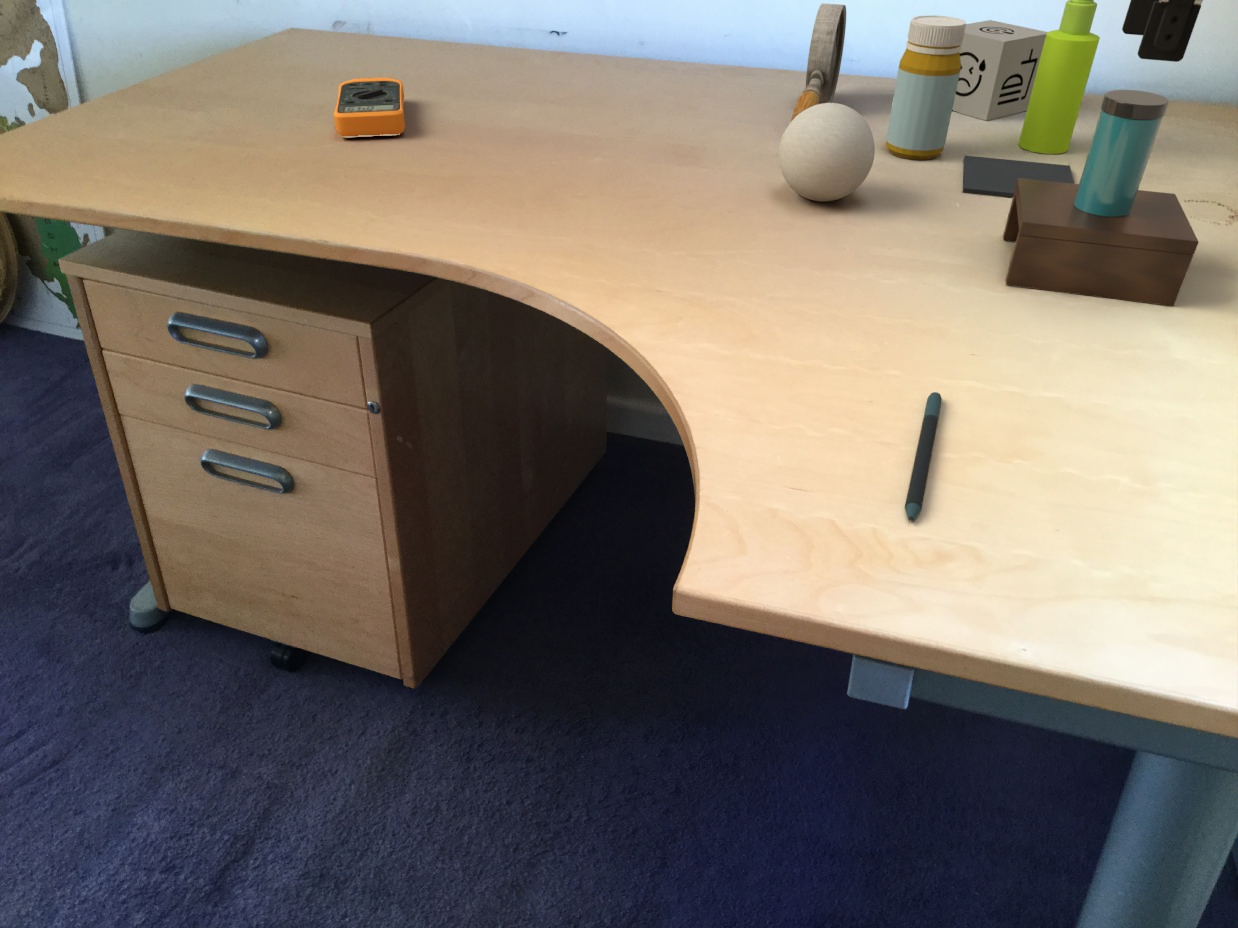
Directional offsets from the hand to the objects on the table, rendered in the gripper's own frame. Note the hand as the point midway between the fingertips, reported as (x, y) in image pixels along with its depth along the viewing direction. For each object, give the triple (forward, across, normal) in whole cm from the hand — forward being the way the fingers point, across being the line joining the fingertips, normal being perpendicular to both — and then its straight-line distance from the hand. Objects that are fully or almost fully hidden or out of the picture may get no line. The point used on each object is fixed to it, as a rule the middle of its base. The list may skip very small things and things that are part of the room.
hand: (1149, 46), depth 77 cm
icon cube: (+20, +55, +8) cm, 59 cm away
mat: (+20, +24, +4) cm, 31 cm away
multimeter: (+21, +22, +86) cm, 92 cm away
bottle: (+20, +31, +16) cm, 40 cm away
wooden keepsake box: (+20, 0, 0) cm, 20 cm away
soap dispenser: (+20, +38, 0) cm, 43 cm away
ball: (+20, +11, +26) cm, 34 cm away
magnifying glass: (+20, +43, +30) cm, 57 cm away
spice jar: (+14, 0, 0) cm, 14 cm away
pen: (+20, -36, +12) cm, 43 cm away
